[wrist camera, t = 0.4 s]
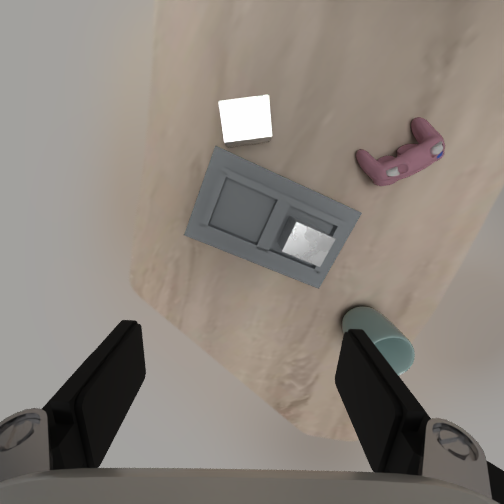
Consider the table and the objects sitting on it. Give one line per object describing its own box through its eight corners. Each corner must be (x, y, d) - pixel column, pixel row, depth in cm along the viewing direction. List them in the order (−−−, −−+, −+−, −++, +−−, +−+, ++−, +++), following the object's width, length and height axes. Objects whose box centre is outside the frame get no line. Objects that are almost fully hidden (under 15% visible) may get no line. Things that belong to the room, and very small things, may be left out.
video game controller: (355, 176, 37) (384, 197, 31) (351, 150, 33) (383, 169, 28) (416, 142, 35) (456, 159, 30) (418, 112, 32) (463, 125, 27)
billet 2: (290, 215, 36) (296, 221, 31) (324, 230, 37) (335, 238, 32) (277, 241, 37) (282, 251, 32) (311, 255, 38) (320, 267, 33)
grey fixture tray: (216, 146, 33) (213, 144, 31) (358, 212, 37) (366, 214, 34) (185, 233, 37) (181, 237, 35) (317, 286, 41) (321, 292, 38)
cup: (382, 328, 44) (419, 370, 34) (342, 341, 44) (367, 386, 35) (373, 293, 41) (410, 329, 32) (331, 308, 42) (355, 346, 33)
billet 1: (222, 112, 32) (218, 101, 28) (265, 106, 32) (268, 94, 27) (227, 147, 34) (224, 142, 29) (268, 142, 34) (272, 136, 29)
